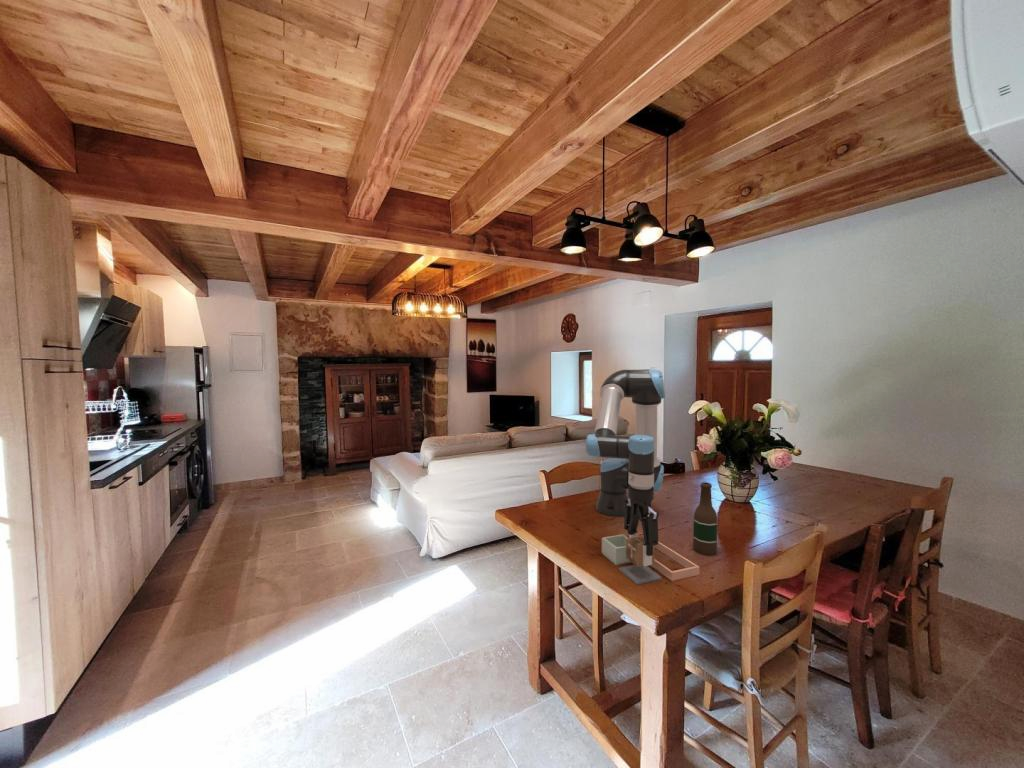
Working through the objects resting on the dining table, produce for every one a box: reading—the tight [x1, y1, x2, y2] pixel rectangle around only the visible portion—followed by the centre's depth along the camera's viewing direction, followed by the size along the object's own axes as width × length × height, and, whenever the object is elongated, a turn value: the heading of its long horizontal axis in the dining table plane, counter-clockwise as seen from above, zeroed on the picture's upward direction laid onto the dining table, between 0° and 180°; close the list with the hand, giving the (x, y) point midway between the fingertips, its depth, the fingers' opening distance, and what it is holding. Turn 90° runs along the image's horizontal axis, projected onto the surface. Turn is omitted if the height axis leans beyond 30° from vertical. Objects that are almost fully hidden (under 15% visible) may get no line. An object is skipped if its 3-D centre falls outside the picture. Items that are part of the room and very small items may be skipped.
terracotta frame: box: [648, 540, 701, 582], centre depth 127 cm, size 22×11×2 cm, turn 19°
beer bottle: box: [692, 481, 718, 557], centre depth 134 cm, size 8×8×24 cm
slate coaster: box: [618, 564, 663, 586], centre depth 119 cm, size 9×9×1 cm
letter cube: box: [626, 536, 656, 567], centre depth 119 cm, size 6×6×6 cm
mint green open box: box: [601, 533, 632, 566], centre depth 130 cm, size 9×9×6 cm
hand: (640, 559), depth 119 cm, fingers closed on letter cube, 6 cm apart
